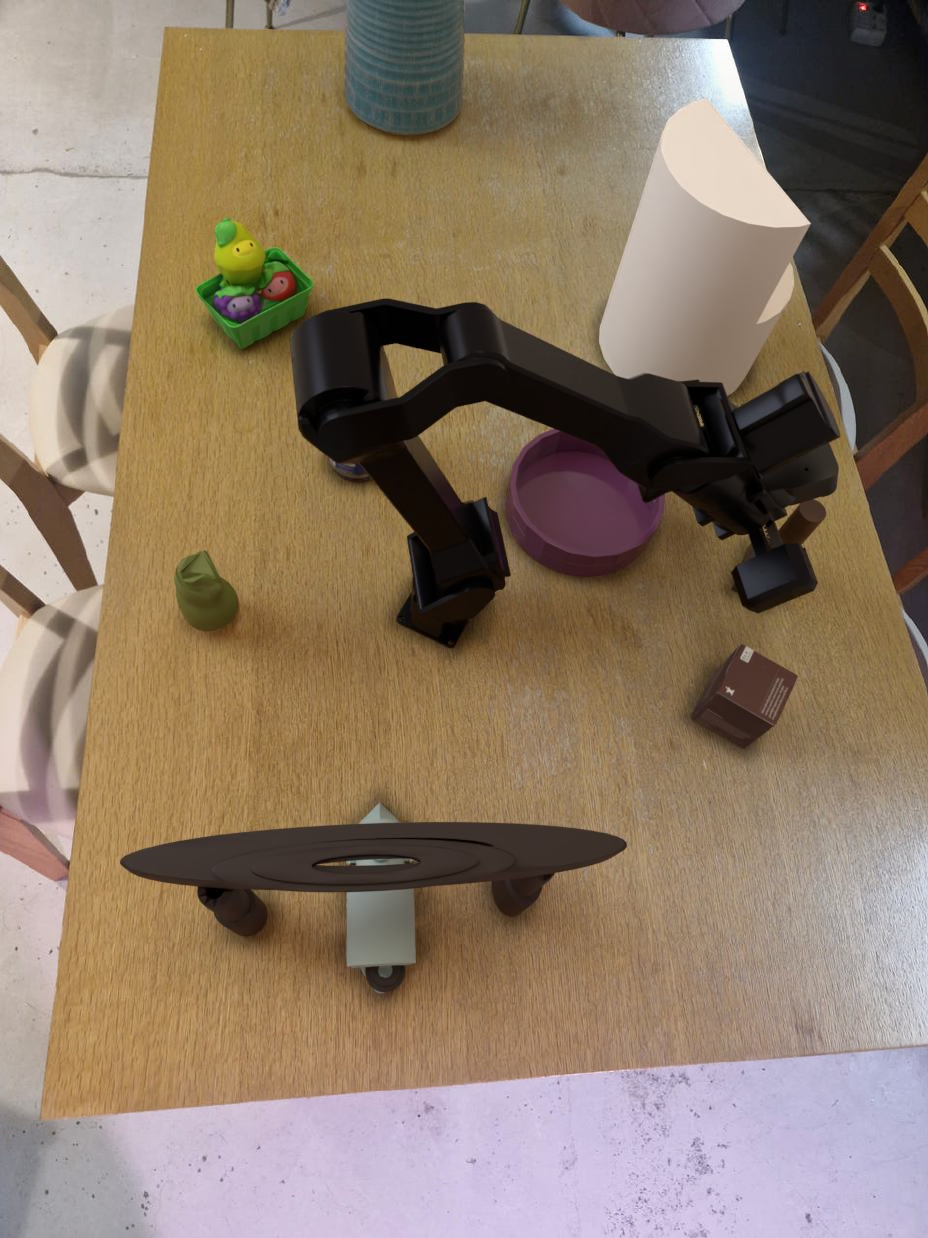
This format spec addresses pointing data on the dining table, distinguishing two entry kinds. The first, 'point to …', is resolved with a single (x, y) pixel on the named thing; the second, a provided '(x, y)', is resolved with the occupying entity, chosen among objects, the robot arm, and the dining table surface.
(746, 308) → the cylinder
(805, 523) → the hammer
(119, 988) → the dining table surface
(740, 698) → the box
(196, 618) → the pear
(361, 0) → the vase
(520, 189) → the dining table surface
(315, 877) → the round plant dolly
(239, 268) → the fruit basket
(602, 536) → the bowl
